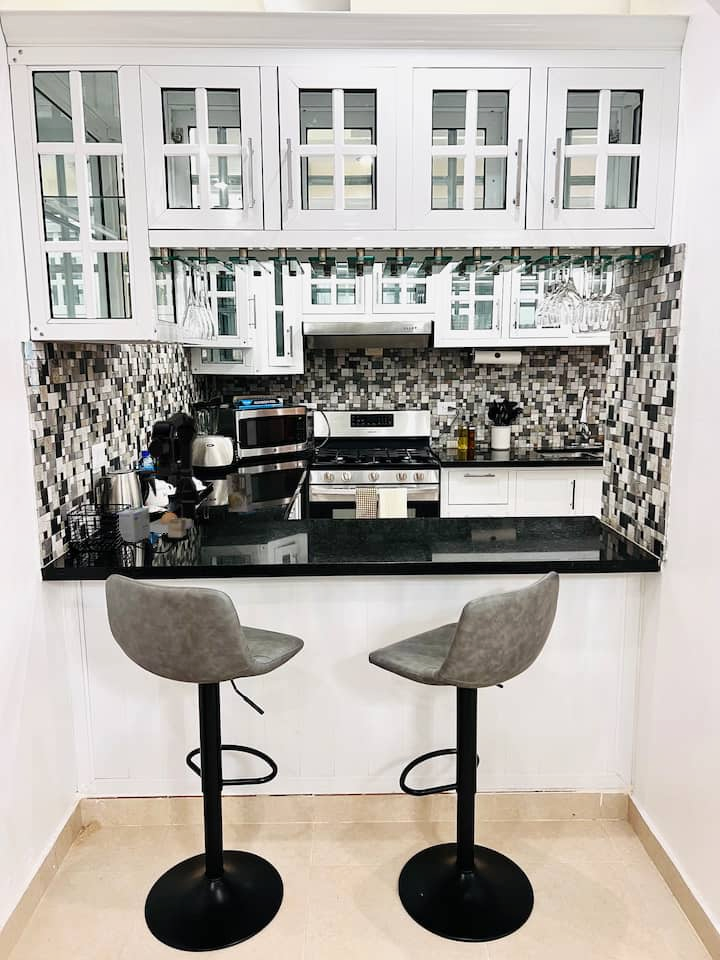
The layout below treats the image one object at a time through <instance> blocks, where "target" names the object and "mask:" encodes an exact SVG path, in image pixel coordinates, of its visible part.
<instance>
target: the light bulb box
mask: <svg viewBox="0 0 720 960" xmlns="http://www.w3.org/2000/svg"><path fill="white" fill-rule="evenodd" d="M117 514H118V515H119V531H120V534H121V537H122V538H123V540H125V541H127V542H133V543H132V544H136V543H138V541H139V542H141V541H144V540H146V539H149V538H150V537H151V534H150V524H151V523H150V510H149V507H131V508H128V509H126V510H122V511H120V512H119V511H118V512H116V515H117ZM145 538H146V539H145ZM143 539H144V540H143ZM140 540H141V541H140ZM135 542H136V543H135Z"/></svg>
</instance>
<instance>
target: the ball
mask: <svg viewBox="0 0 720 960" xmlns="http://www.w3.org/2000/svg"><path fill="white" fill-rule="evenodd" d="M172 518H178V516H177V514H176V513H174V512H166V513H164V514H163V515H162V516H161V518H160V519H161V522H162V525H167V521H168V520H170V519H172Z"/></svg>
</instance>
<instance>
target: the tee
mask: <svg viewBox="0 0 720 960" xmlns="http://www.w3.org/2000/svg"><path fill="white" fill-rule="evenodd" d="M167 525H168V534H167V538H183V537H185V536H187V530H186V518H180V517H177V518H172V519H170V520H168V521H167Z"/></svg>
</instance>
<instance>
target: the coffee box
mask: <svg viewBox="0 0 720 960" xmlns="http://www.w3.org/2000/svg"><path fill="white" fill-rule="evenodd" d="M226 487H227V488H226V490H227V505H228V506H227V509H228V513H233V512H234V513H235V512H236V513H249V512H251V511H253V509H254V507H253V491H252V488H253V487H252V473H251V472H231V473H228V474H226Z"/></svg>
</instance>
